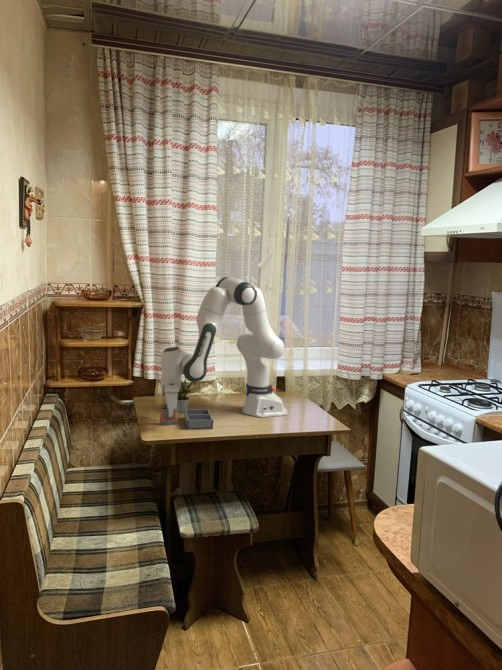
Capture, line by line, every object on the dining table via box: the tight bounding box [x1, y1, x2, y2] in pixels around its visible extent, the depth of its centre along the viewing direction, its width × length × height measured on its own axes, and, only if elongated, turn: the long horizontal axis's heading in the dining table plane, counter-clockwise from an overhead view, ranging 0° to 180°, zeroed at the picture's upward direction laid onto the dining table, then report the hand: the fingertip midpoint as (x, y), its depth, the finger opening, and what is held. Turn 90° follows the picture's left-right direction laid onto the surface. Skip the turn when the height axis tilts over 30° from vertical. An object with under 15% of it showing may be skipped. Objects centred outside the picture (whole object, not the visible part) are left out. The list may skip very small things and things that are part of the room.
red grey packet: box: [159, 402, 178, 427], centre depth 236 cm, size 8×3×10 cm, turn 106°
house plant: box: [176, 377, 198, 413], centre depth 254 cm, size 14×14×16 cm
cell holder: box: [183, 408, 214, 431], centre depth 239 cm, size 11×16×4 cm
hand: (169, 413), depth 236 cm, fingers open, 8 cm apart
